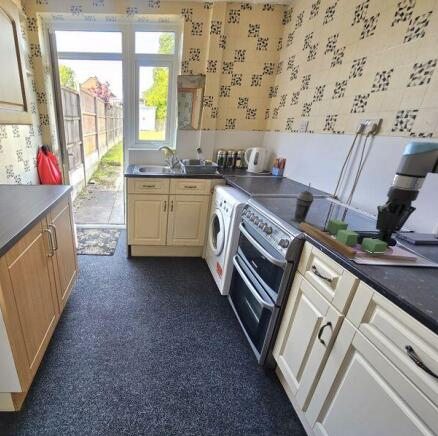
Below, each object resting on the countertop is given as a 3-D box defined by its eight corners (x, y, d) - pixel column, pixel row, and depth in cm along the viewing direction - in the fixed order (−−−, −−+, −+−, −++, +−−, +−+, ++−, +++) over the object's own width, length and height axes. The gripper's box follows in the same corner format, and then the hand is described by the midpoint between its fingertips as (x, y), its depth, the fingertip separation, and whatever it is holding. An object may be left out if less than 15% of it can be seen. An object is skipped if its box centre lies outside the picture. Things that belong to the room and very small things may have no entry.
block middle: (345, 240, 105) (349, 229, 103) (355, 245, 100) (360, 234, 98) (334, 240, 104) (338, 229, 102) (344, 246, 99) (348, 235, 98)
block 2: (371, 249, 97) (375, 237, 96) (383, 255, 93) (388, 243, 91) (359, 249, 97) (363, 238, 95) (371, 255, 92) (375, 243, 91)
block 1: (336, 229, 115) (339, 219, 113) (344, 234, 111) (348, 224, 109) (326, 230, 115) (329, 220, 113) (334, 234, 110) (337, 224, 108)
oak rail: (303, 228, 116) (305, 222, 115) (354, 258, 90) (357, 251, 89) (299, 228, 116) (301, 222, 115) (349, 258, 90) (352, 251, 89)
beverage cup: (303, 219, 128) (314, 181, 120) (309, 224, 121) (321, 184, 114) (288, 217, 129) (298, 180, 122) (293, 222, 122) (304, 183, 115)
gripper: (410, 185, 90) (386, 242, 99) (377, 185, 89) (356, 243, 98) (434, 190, 83) (405, 251, 92) (398, 190, 82) (373, 252, 91)
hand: (380, 247), depth 95 cm, fingers closed
